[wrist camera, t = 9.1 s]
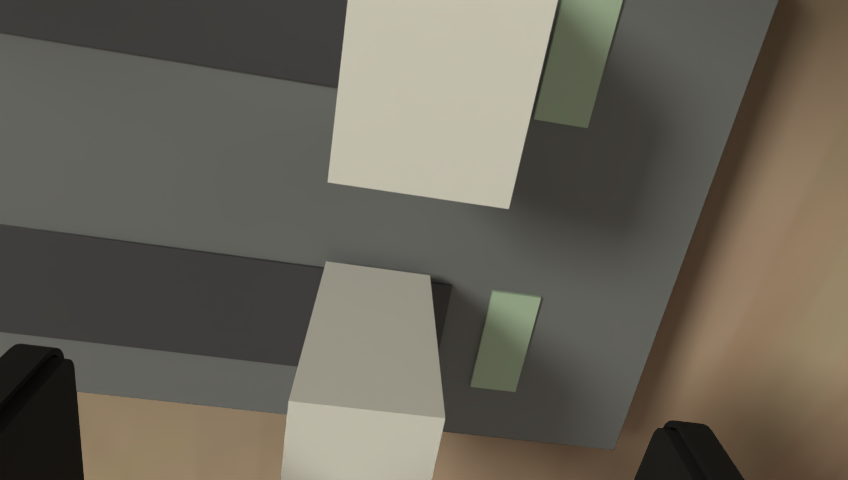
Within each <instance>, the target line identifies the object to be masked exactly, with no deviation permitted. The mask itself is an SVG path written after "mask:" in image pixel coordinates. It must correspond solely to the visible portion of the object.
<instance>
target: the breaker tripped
mask: <svg viewBox="0 0 848 480" xmlns="http://www.w3.org/2000/svg"><path fill="white" fill-rule="evenodd" d="M444 422H445V410H444V401H443V392H442V383H441V373H440V364H439V355H438V345H437V336H436V327H435V317H434V308H433V299H432V290H431V280H430V275H424V274H417V273H409V272H402V271H394V270H387V269H380V268H372V267H365V266H357V265H350V264H342V263H335V262H328V261H326V263H325V267H324V271H323V275H322V278H321V282H320V286H319V289H318V293H317V297H316V301H315V304H314V308H313V312H312V315H311V319H310V323H309V327H308V330H307V334H306V338H305V342H304V345H303V349H302V353H301V356H300V360H299V364H298V368H297V371H296V375H295V379H294V383H293V386H292V390H291V394H290V397H289V401H288V411H287V421H286V431H285V442H284V452H283V462H282V472H281V480H432V476H433V471H434V467H435V462H436V458H437V453H438V449H439V445H440V440H441V436H442V431H443V427H444Z"/></svg>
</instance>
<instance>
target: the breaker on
mask: <svg viewBox="0 0 848 480" xmlns="http://www.w3.org/2000/svg"><path fill="white" fill-rule="evenodd" d="M557 2H558V0H348V2H347V11H346V20H345V29H344V38H343V47H342V56H341V65H340V74H339V83H338V92H337V101H336V110H335V119H334V128H333V137H332V146H331V155H330V164H329V173H328V183H335V184H342V185H349V186H355V187H362V188H369V189H376V190H382V191H389V192H396V193H403V194H409V195H416V196H423V197H430V198H436V199H443V200H450V201H457V202H464V203H470V204H477V205H484V206H491V207H497V208H504V209H509V206H510V202H511V198H512V193H513V189H514V185H515V181H516V176H517V172H518V168H519V164H520V159H521V155H522V151H523V147H524V143H525V138H526V134H527V130H528V126H529V121H530V117H531V113H532V109H533V104H534V100H535V96H536V92H537V87H538V83H539V79H540V75H541V70H542V66H543V62H544V58H545V53H546V49H547V45H548V41H549V36H550V32H551V28H552V24H553V19H554V15H555V11H556V7H557Z"/></svg>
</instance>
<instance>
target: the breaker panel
mask: <svg viewBox="0 0 848 480" xmlns="http://www.w3.org/2000/svg"><path fill="white" fill-rule="evenodd" d="M347 2H348V0H0V357H1V356H2V355H3V354H4V353H5V352H6V351H8V350H9V349H10V348H11V347H12V346H14V345H16V344H20V343H21V344H29V345H38V346H46V347H54V348H59V349H61V351H62V352H63V354H64V359H70V360H72V361H73V363H74V367H75V379H76V390H77V392H84V393H94V394H103V395H112V396H121V397H130V398H140V399H149V400H158V401H167V402H177V403H186V404H195V405H204V406H213V407H223V408H232V409H241V410H250V411H259V412H269V413H278V414H287V411H288V401H289V397H290V394H291V390H292V386H293V383H294V379H295V375H296V371H297V368H298V364H299V360H300V356H301V353H302V349H303V345H304V342H305V338H306V334H307V330H308V327H309V323H310V319H311V315H312V312H313V308H314V304H315V301H316V297H317V293H318V289H319V286H320V282H321V278H322V275H323V271H324V267H325V263H326V261H328V262H335V263H342V264H350V265H357V266H365V267H372V268H380V269H387V270H394V271H402V272H409V273H417V274H424V275H430V280H431V290H432V299H433V308H434V317H435V327H436V336H437V345H438V355H439V364H440V373H441V383H442V392H443V401H444V410H445V422H444V427H443V431H444V432H453V433H462V434H471V435H480V436H490V437H499V438H508V439H517V440H526V441H536V442H545V443H554V444H563V445H572V446H582V447H591V448H600V449H609V450H614V448H615V445H616V443H617V440H618V437H619V434H620V432H621V429H622V426H623V424H624V421H625V418H626V415H627V413H628V410H629V407H630V404H631V402H632V399H633V396H634V394H635V391H636V388H637V385H638V383H639V380H640V377H641V374H642V372H643V369H644V366H645V363H646V361H647V358H648V355H649V353H650V350H651V347H652V344H653V342H654V339H655V336H656V333H657V331H658V328H659V325H660V322H661V320H662V317H663V314H664V312H665V309H666V306H667V303H668V301H669V298H670V295H671V292H672V290H673V287H674V284H675V282H676V279H677V276H678V273H679V271H680V268H681V265H682V262H683V260H684V257H685V254H686V251H687V249H688V246H689V243H690V241H691V238H692V235H693V232H694V230H695V227H696V224H697V221H698V219H699V216H700V213H701V210H702V208H703V205H704V202H705V200H706V197H707V194H708V191H709V189H710V186H711V183H712V180H713V178H714V175H715V172H716V170H717V167H718V164H719V161H720V159H721V156H722V153H723V150H724V148H725V145H726V142H727V139H728V137H729V134H730V131H731V129H732V126H733V123H734V120H735V118H736V115H737V112H738V109H739V107H740V104H741V101H742V99H743V96H744V93H745V90H746V88H747V85H748V82H749V79H750V77H751V74H752V71H753V68H754V66H755V63H756V60H757V58H758V55H759V52H760V49H761V47H762V44H763V41H764V38H765V36H766V33H767V30H768V27H769V25H770V22H771V19H772V17H773V14H774V11H775V8H776V6H777V3H778V0H558V2H557V7H556V11H555V15H554V19H553V24H552V28H551V32H550V36H549V41H548V45H547V49H546V53H545V58H544V62H543V66H542V70H541V75H540V79H539V83H538V87H537V92H536V96H535V100H534V104H533V109H532V113H531V117H530V121H529V126H528V130H527V134H526V138H525V143H524V147H523V151H522V155H521V159H520V164H519V168H518V172H517V176H516V181H515V185H514V189H513V193H512V198H511V202H510V206H509V209H504V208H497V207H491V206H484V205H477V204H470V203H464V202H457V201H450V200H443V199H436V198H430V197H423V196H416V195H409V194H403V193H396V192H389V191H382V190H376V189H369V188H362V187H355V186H349V185H342V184H335V183H328V173H329V164H330V155H331V146H332V137H333V128H334V119H335V110H336V101H337V92H338V83H339V74H340V65H341V56H342V47H343V38H344V29H345V20H346V11H347Z"/></svg>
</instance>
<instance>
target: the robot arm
mask: <svg viewBox="0 0 848 480" xmlns="http://www.w3.org/2000/svg"><path fill="white" fill-rule="evenodd" d="M0 480H84V474H83V462H82V450H81V438H80V426H79V414H78V402H77V390H76V379H75V367H74V363H73V361H72V360H70V359H64V354H63V352H62V351H61V349H59V348H54V347H46V346H38V345H29V344H21V343H20V344H16V345H14V346H12V347H11V348H10V349H9V350H8V351H6V352H5V353H4V354H3V355H2V356H1V357H0ZM634 480H744V478H743V477H742V475H741V474H740V472H739V471H738V469H737V468H736V466H735V465H734V463H733V462H732V460H731V459H730V457H729V456H728V454H727V453H726V451H725V450H724V448H723V447H722V445H721V444H720V442H719V441H718V439H717V438H716V436H715V435H714V433H713V432H712V430H711V429H710V428H709V427H708V426H706V425H704V424H699V423H690V422H682V421H668V422H667V423H666V424H665V425H664V427H663V428H658V429H657V430H655V432H654V434H653V436H652V438H651V441H650V443H649V445H648V448H647V450H646V453H645V455H644V457H643V460H642V462H641V465H640V467H639V469H638V472H637V474H636V476H635V479H634Z"/></svg>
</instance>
